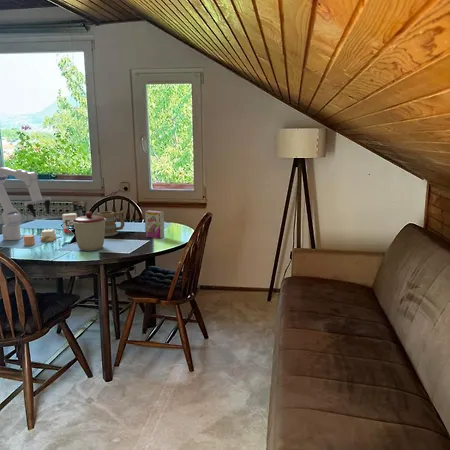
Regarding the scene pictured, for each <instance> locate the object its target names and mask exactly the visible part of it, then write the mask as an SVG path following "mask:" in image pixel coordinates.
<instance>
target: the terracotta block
mask: <svg viewBox="0 0 450 450" xmlns="http://www.w3.org/2000/svg"><path fill="white" fill-rule="evenodd" d="M35 244H36V241H35V234H26V235H24V236H23V245H24V246H33V245H35Z"/></svg>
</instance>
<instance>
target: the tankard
mask: <svg viewBox="0 0 450 450" xmlns="http://www.w3.org/2000/svg"><path fill="white" fill-rule="evenodd" d="M127 213H128V211H127V210H125V209H122V210H121V211H118V212H114V211H112V210H111V211H109V210H108V211H107V210H106V211H99V212H96V214H97V216H102V217H104V218H106V221H105V234H104V237H111V236H116V235H118V234H119V233H118V232H119V231H121V230H123V229H124V227H125V221H124V217H123V214H127ZM117 216H118V220H119V221H120V226H117V224H116V221H117Z"/></svg>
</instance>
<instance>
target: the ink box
mask: <svg viewBox="0 0 450 450" xmlns="http://www.w3.org/2000/svg"><path fill="white" fill-rule="evenodd" d="M61 217H62V219H61V220H62V227H63V228H62V229H63V233H65V234H68V233H72V232H71V231H70V230H69V229H67V228H66V227H67V226H69V225H73V222H72V220H74V219H75V218H77V217H78V214H77V213H76V212H69V213H63V214H62V215H61Z"/></svg>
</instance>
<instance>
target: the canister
mask: <svg viewBox="0 0 450 450" xmlns="http://www.w3.org/2000/svg"><path fill="white" fill-rule="evenodd" d="M105 221H106V218H104V217H102V216H97V215H96V214H94V215H93V212H92V211H86V212H85V215H82V216H77V218H75V219H74V220H72V222H73V224H74V229H75V232H74V234H75V239H76V243H77V247H78V249H79V250H81V251H84V252H87V251H88V252H93V251H98V250H100V249H103V247H104V243H105V236H104V234H105Z"/></svg>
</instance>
